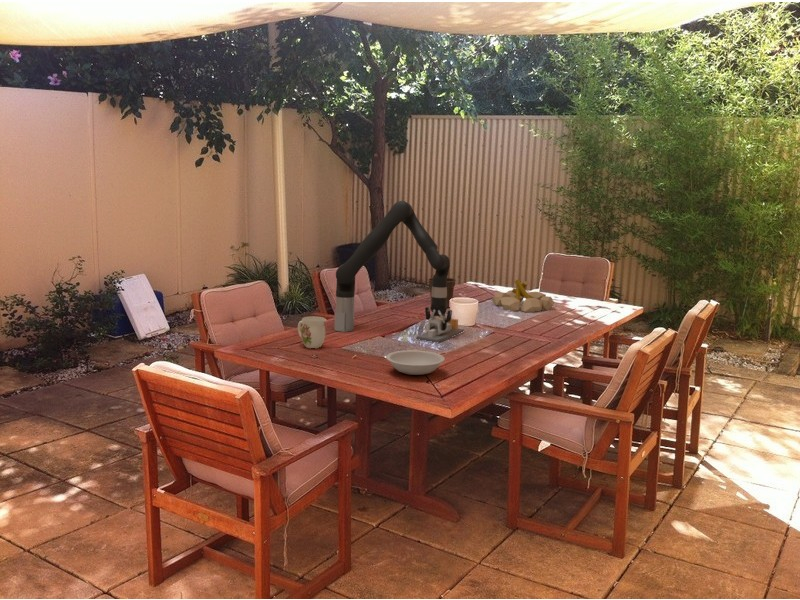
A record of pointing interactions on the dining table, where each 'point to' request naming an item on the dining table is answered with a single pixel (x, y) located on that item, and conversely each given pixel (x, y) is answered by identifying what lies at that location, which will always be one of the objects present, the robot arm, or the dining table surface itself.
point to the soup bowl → (415, 361)
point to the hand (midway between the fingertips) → (437, 329)
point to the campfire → (515, 297)
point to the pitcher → (312, 331)
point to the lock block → (436, 324)
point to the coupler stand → (432, 334)
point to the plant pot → (449, 288)
